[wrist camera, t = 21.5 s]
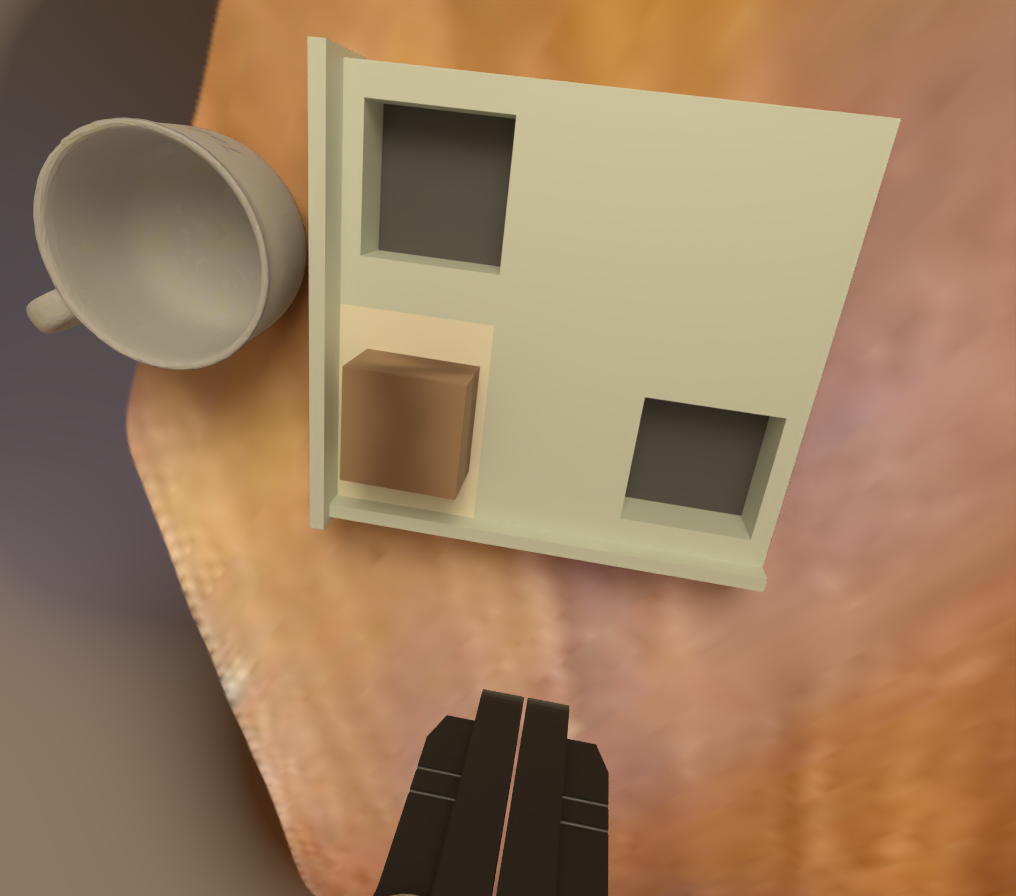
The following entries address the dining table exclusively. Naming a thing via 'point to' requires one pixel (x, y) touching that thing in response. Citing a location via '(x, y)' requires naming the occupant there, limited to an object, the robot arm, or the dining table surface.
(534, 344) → the box
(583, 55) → the dining table surface
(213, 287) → the teacup
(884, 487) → the dining table surface
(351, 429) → the block
